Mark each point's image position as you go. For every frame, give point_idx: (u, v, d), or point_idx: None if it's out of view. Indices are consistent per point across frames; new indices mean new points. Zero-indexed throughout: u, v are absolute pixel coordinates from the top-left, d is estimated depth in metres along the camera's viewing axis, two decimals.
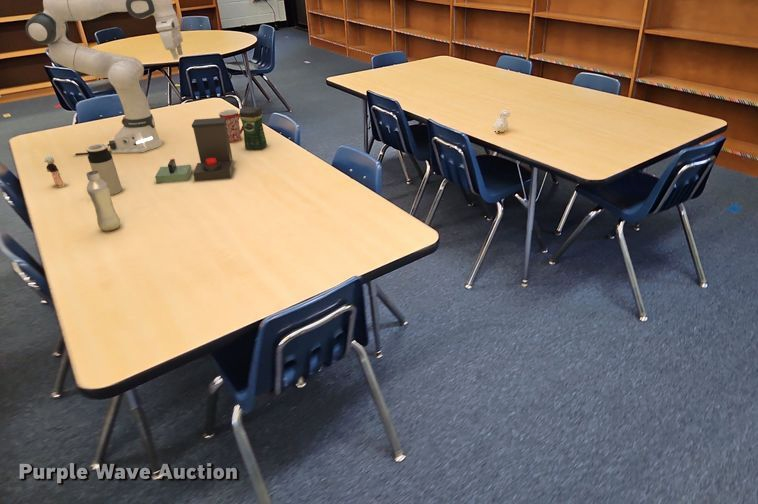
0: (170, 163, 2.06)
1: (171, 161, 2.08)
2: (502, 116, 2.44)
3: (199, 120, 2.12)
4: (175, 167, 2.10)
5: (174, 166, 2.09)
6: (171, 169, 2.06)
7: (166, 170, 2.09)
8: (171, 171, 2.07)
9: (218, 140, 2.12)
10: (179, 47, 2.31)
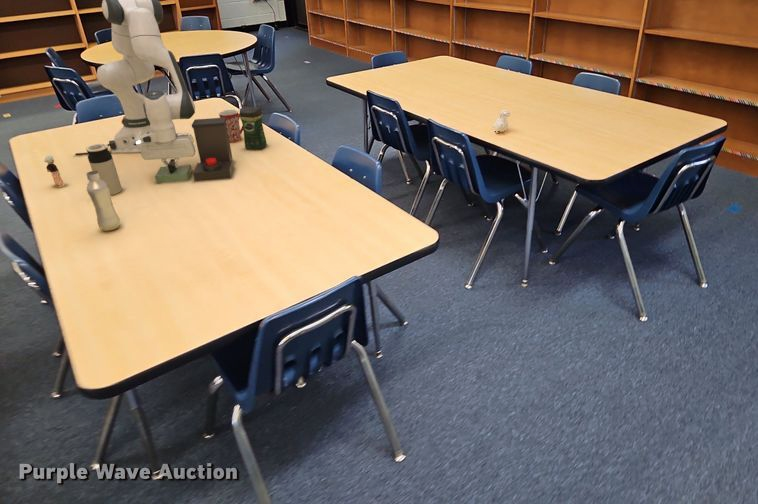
0: (170, 163, 2.06)
1: (171, 161, 2.08)
2: (502, 116, 2.44)
3: (199, 120, 2.12)
4: None
5: None
6: (171, 169, 2.06)
7: (166, 170, 2.09)
8: (171, 171, 2.07)
9: (218, 140, 2.12)
10: None
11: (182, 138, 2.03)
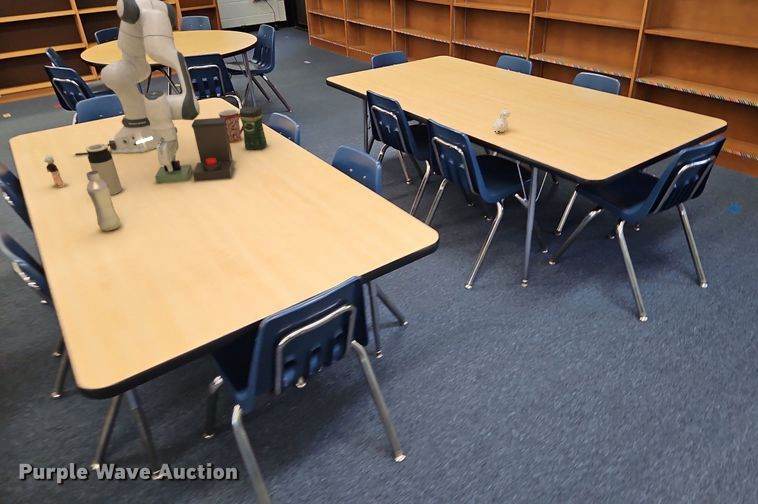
0: None
1: (172, 161, 2.08)
2: (502, 116, 2.44)
3: (199, 120, 2.12)
4: (175, 169, 2.09)
5: None
6: None
7: None
8: None
9: (218, 140, 2.12)
10: None
11: (159, 144, 1.97)
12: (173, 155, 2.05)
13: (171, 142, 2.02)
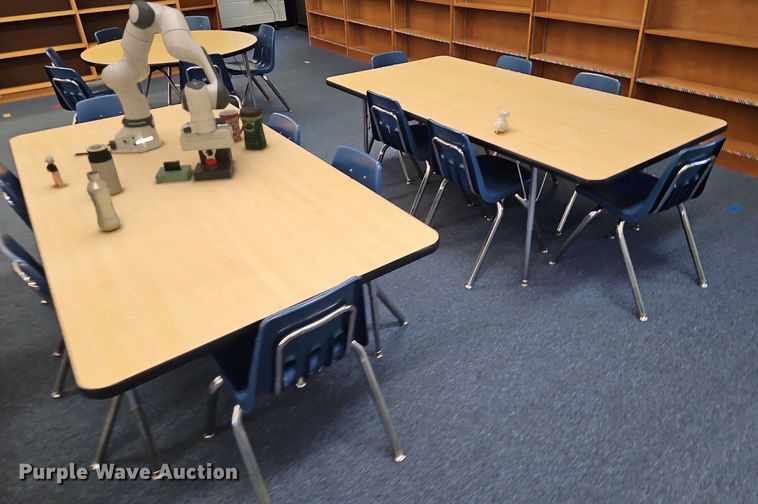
0: (166, 162, 2.08)
1: (172, 161, 2.08)
2: (502, 116, 2.44)
3: None
4: (175, 169, 2.09)
5: (172, 167, 2.08)
6: None
7: None
8: None
9: None
10: (213, 152, 2.05)
11: (222, 129, 2.01)
12: None
13: None
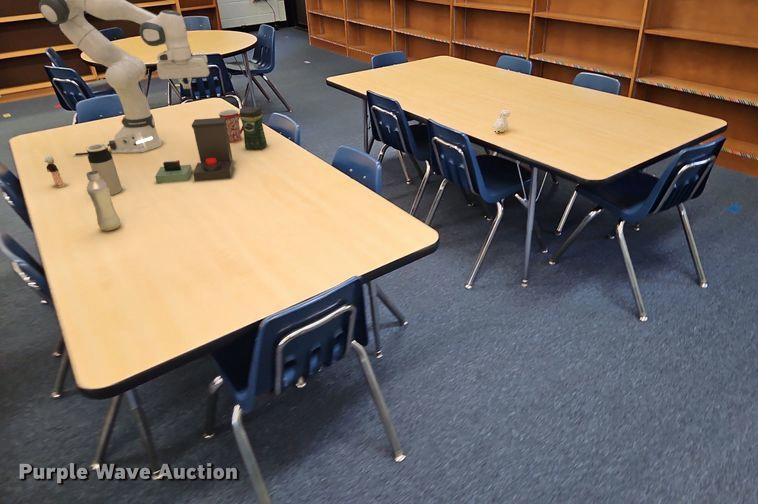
0: (166, 162, 2.08)
1: (172, 161, 2.08)
2: (502, 116, 2.44)
3: (199, 120, 2.12)
4: (175, 169, 2.09)
5: (172, 167, 2.08)
6: None
7: None
8: None
9: (218, 140, 2.12)
10: (189, 81, 2.16)
11: (197, 58, 2.12)
12: None
13: None
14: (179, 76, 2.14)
